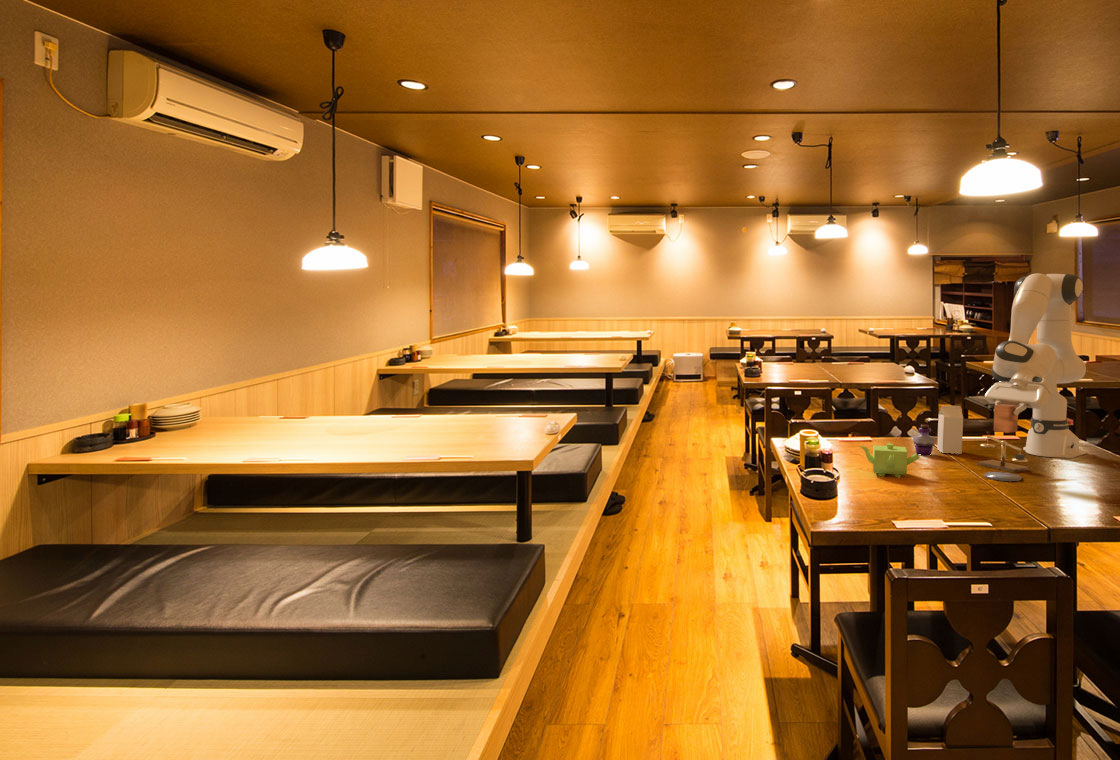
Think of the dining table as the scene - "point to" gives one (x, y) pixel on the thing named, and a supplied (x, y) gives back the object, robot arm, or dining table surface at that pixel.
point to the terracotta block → (1005, 418)
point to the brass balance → (1002, 463)
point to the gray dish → (1002, 476)
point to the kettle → (889, 459)
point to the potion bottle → (924, 441)
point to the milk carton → (950, 430)
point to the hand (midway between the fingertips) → (1004, 413)
